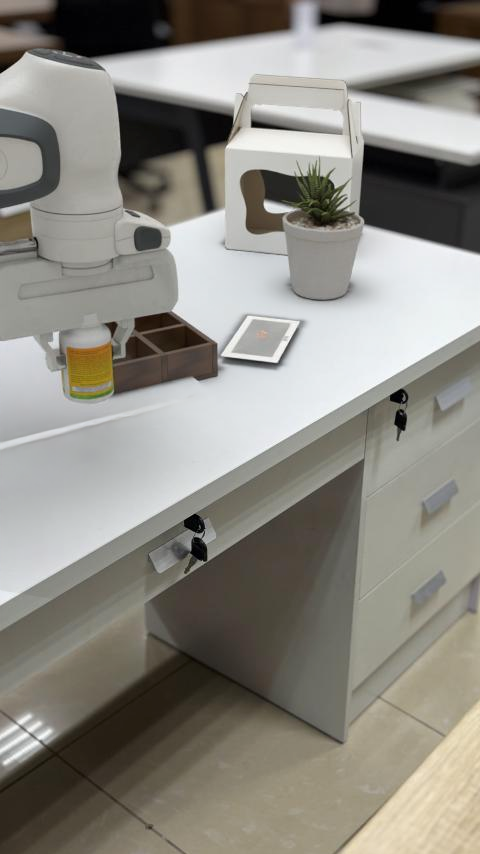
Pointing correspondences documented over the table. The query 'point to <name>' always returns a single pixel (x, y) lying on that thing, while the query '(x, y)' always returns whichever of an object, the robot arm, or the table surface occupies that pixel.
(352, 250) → the potted plant
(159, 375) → the grid
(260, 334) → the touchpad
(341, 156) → the gable box
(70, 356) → the supplement bottle
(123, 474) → the table surface
